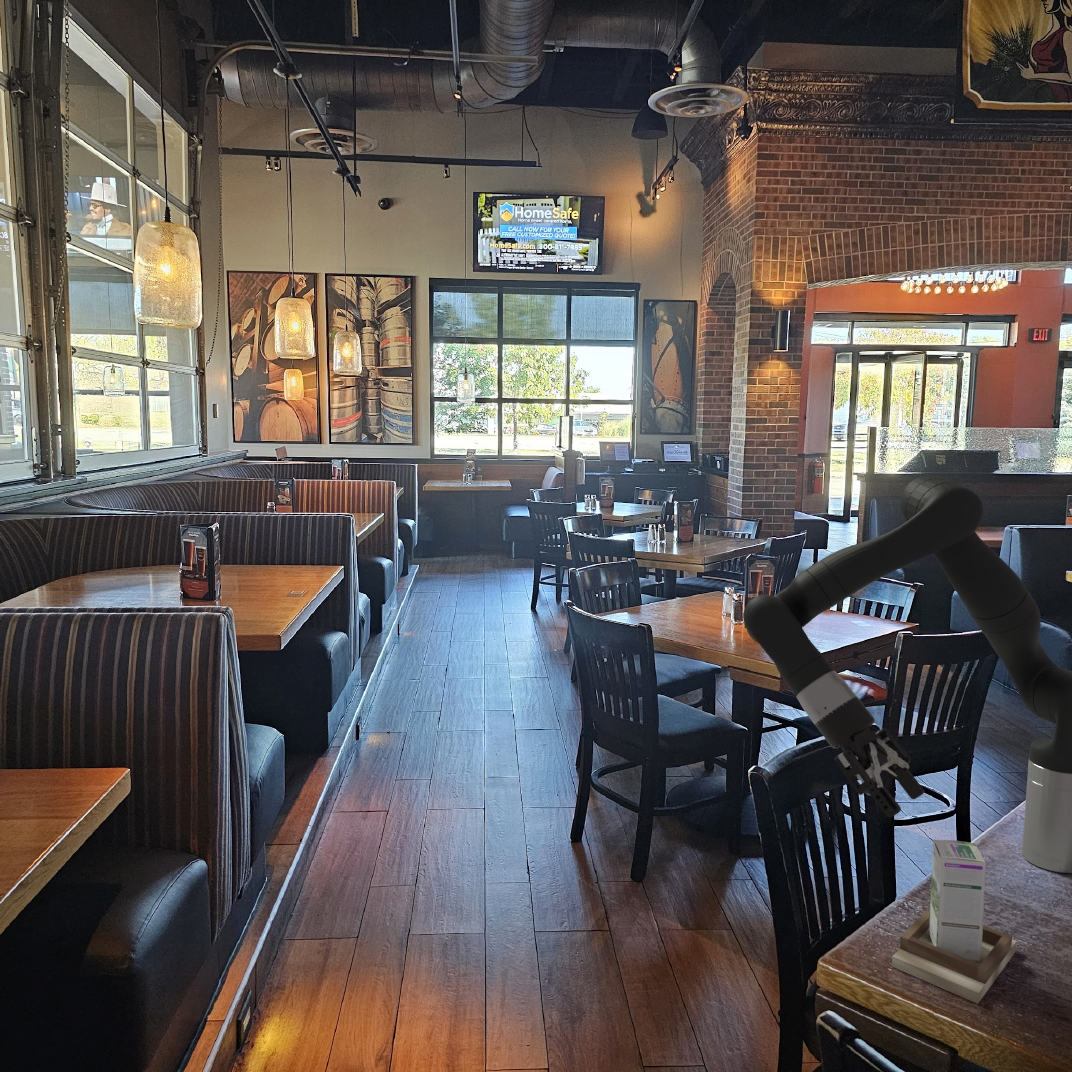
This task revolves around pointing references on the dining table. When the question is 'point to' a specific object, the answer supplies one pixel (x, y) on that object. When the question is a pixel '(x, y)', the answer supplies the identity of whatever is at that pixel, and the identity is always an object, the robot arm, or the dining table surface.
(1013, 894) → the dining table surface
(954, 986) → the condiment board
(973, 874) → the syrup box
